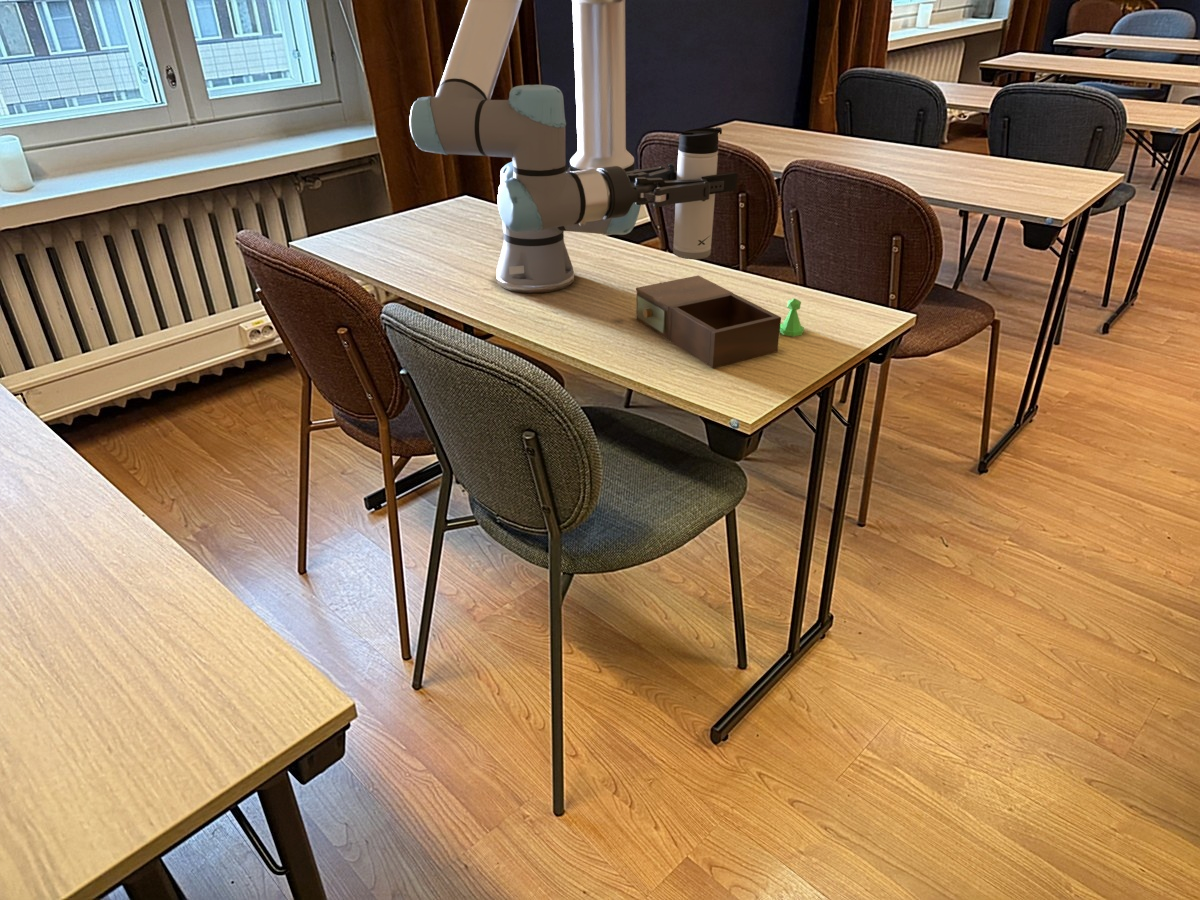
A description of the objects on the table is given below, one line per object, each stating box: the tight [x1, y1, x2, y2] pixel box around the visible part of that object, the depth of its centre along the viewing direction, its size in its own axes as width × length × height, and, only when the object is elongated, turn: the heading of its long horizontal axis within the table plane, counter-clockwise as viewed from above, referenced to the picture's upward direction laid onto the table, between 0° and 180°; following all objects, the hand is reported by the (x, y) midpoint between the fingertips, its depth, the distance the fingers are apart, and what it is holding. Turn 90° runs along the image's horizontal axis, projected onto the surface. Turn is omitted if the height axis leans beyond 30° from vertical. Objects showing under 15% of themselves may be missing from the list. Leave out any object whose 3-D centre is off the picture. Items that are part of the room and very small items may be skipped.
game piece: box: [779, 298, 805, 337], centre depth 145 cm, size 4×4×6 cm
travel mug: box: [672, 126, 723, 260], centre depth 137 cm, size 6×7×20 cm
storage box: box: [635, 275, 782, 369], centre depth 143 cm, size 23×14×6 cm, turn 29°
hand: (722, 176), depth 138 cm, fingers closed on travel mug, 6 cm apart
